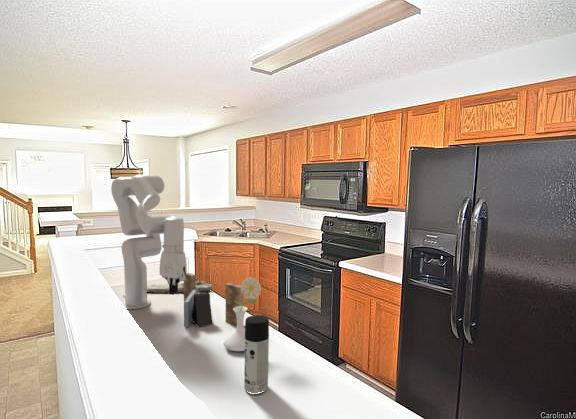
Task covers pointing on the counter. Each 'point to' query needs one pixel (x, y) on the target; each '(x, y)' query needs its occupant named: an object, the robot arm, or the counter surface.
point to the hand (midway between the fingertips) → (173, 293)
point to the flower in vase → (242, 314)
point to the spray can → (256, 353)
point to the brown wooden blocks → (231, 294)
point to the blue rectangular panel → (189, 307)
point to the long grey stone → (165, 288)
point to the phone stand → (202, 310)
